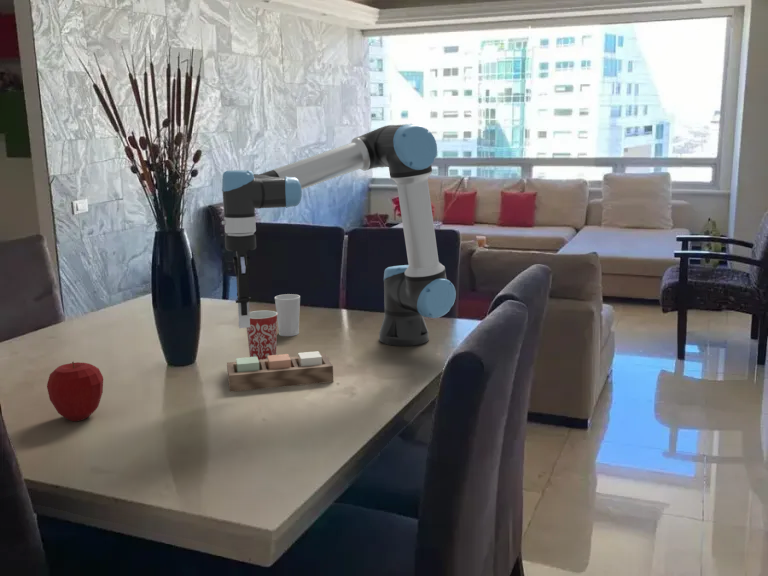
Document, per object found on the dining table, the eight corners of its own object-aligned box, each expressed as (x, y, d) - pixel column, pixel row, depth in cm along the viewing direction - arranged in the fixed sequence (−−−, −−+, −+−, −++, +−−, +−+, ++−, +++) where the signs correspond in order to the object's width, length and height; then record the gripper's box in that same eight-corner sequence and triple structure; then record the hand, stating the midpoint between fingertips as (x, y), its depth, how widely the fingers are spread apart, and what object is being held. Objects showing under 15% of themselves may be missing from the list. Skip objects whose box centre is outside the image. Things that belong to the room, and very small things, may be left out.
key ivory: (318, 364, 197) (318, 351, 197) (322, 370, 192) (321, 356, 192) (298, 366, 196) (298, 352, 195) (301, 372, 191) (300, 358, 190)
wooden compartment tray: (325, 368, 201) (325, 354, 200) (333, 381, 191) (332, 366, 190) (227, 378, 195) (226, 362, 194) (229, 391, 184) (228, 375, 184)
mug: (276, 365, 205) (274, 317, 202) (244, 365, 205) (241, 318, 203) (284, 352, 217) (282, 307, 215) (253, 352, 218) (251, 307, 215)
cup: (297, 337, 233) (296, 299, 231) (273, 336, 234) (271, 299, 232) (304, 330, 241) (302, 294, 238) (280, 330, 242) (278, 293, 239)
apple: (115, 417, 169) (110, 360, 166) (63, 431, 161) (57, 372, 158) (93, 404, 177) (87, 350, 175) (42, 417, 170) (36, 361, 167)
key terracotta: (288, 366, 196) (288, 353, 195) (291, 373, 190) (290, 359, 190) (268, 368, 194) (267, 355, 194) (270, 375, 189) (269, 361, 188)
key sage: (257, 369, 194) (257, 356, 193) (259, 376, 188) (259, 362, 188) (236, 371, 192) (236, 358, 192) (238, 378, 187) (237, 364, 186)
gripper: (223, 231, 188) (228, 321, 193) (225, 237, 176) (230, 334, 181) (253, 230, 190) (257, 319, 195) (258, 236, 178) (261, 332, 182)
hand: (244, 326), depth 188 cm, fingers closed
